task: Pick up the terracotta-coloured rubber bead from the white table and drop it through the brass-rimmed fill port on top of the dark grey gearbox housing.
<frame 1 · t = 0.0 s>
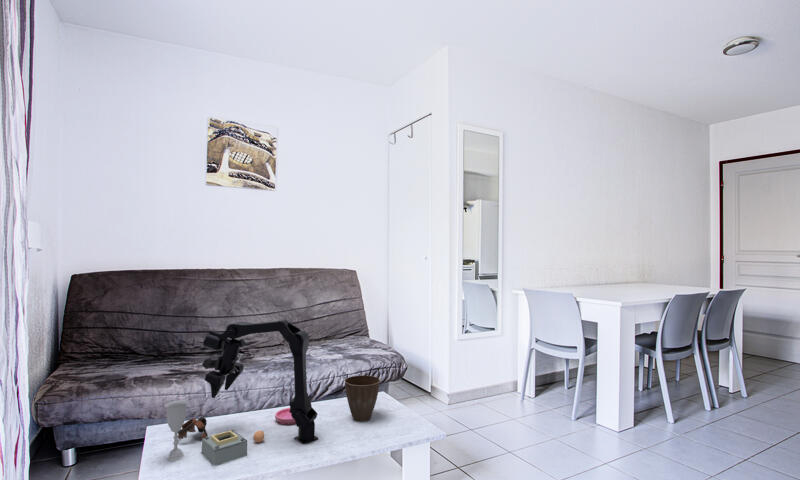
hand: (219, 393, 164), 15 cm above the table, tool pointing down, fingers open, 9 cm apart
plant pot: (362, 418, 180), on the table
saucer: (290, 420, 178), on the table
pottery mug: (194, 438, 161), on the table
bead: (258, 441, 157), on the table
chalice: (175, 457, 145), on the table
gearbox: (224, 454, 148), on the table
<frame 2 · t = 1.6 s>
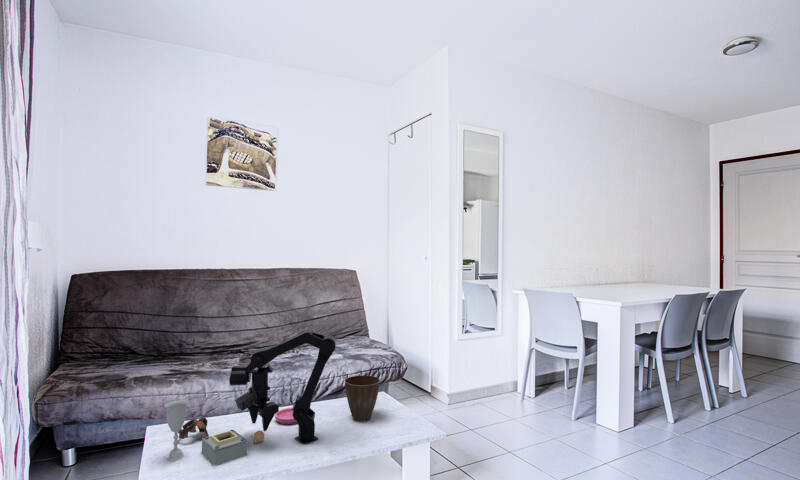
hand: (259, 426, 158), 5 cm above the table, tool pointing down, fingers open, 9 cm apart
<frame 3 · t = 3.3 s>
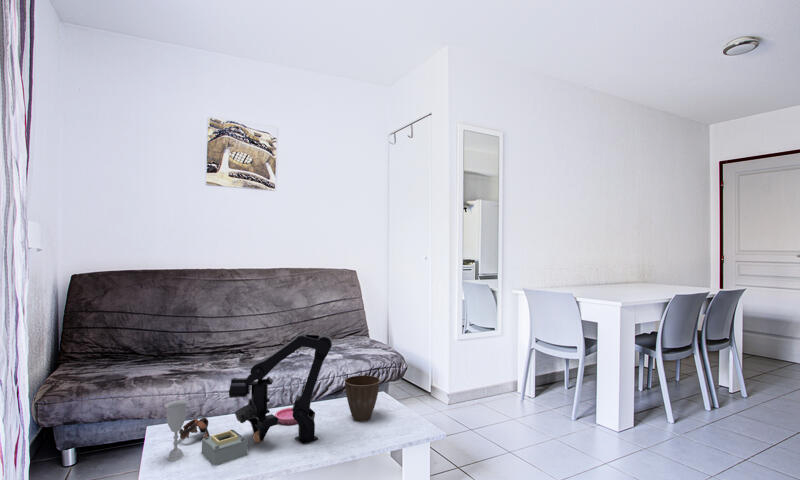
hand: (258, 439, 157), 1 cm above the table, tool pointing down, fingers closed on bead, 4 cm apart
bead: (258, 441, 157), on the table, touching gripper
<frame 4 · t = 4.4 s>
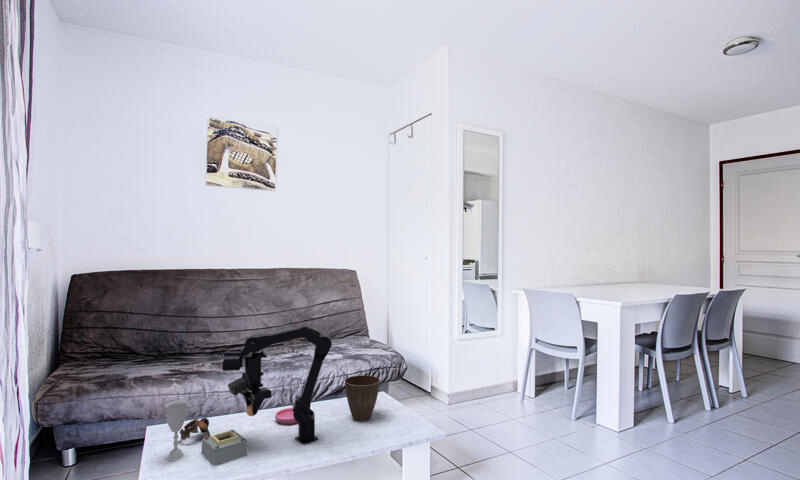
hand: (252, 412, 156), 11 cm above the table, tool pointing down, fingers closed on bead, 4 cm apart
bead: (251, 415, 156), point 10 cm above the table, touching gripper
when the fingers open (8 cm above the table, at t = 6.0 s): bead drops 7 cm, resting on gearbox.
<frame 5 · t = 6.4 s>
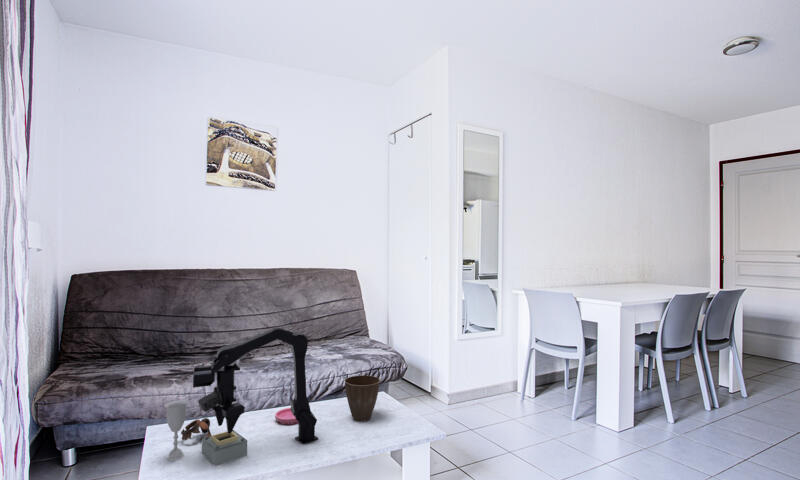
hand: (224, 429, 148), 8 cm above the table, tool pointing down, fingers open, 8 cm apart
bead: (224, 452, 148), point 1 cm above the table, touching gearbox
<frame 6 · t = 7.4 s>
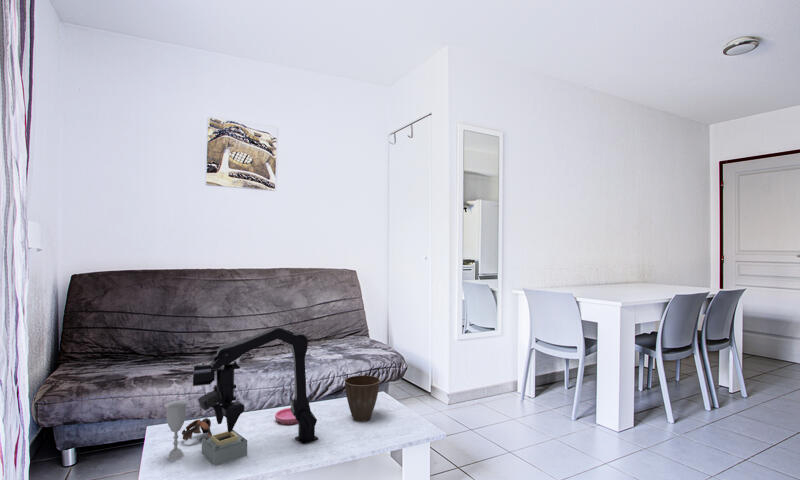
hand: (224, 427, 148), 9 cm above the table, tool pointing down, fingers open, 9 cm apart
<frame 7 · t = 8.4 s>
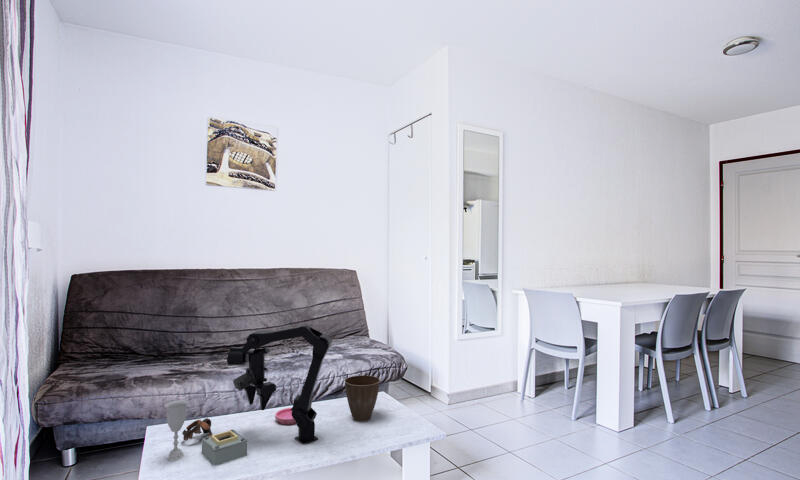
hand: (256, 407, 161), 12 cm above the table, tool pointing down, fingers open, 9 cm apart
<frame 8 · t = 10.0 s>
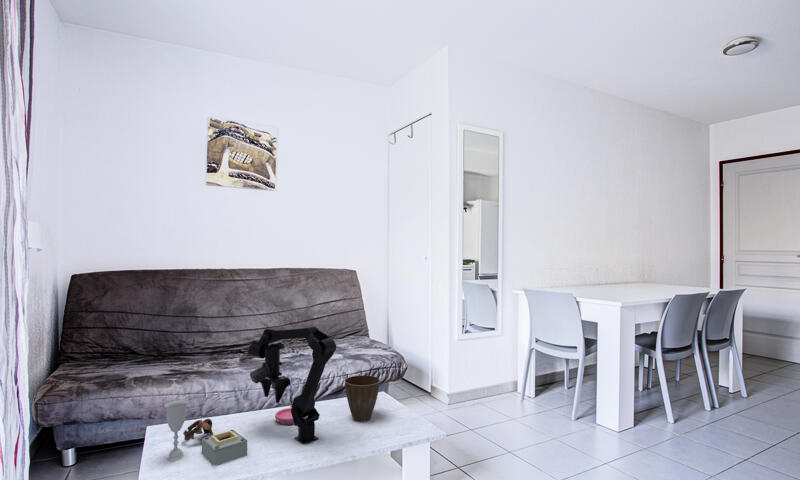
hand: (271, 399, 168), 12 cm above the table, tool pointing down, fingers open, 9 cm apart
at the end: bead inside the target area on the gearbox (0.0 cm from its centre), point 0.6 cm above the gearbox's base; the gripper is holding nothing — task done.
